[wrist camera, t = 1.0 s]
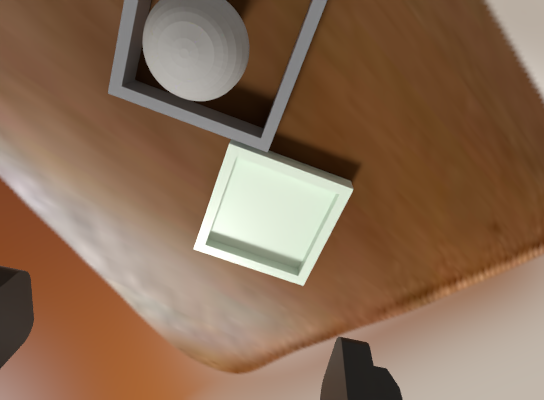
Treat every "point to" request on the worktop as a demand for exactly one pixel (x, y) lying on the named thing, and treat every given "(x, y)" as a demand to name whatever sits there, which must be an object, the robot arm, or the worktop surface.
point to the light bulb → (196, 47)
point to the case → (192, 112)
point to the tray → (271, 212)
